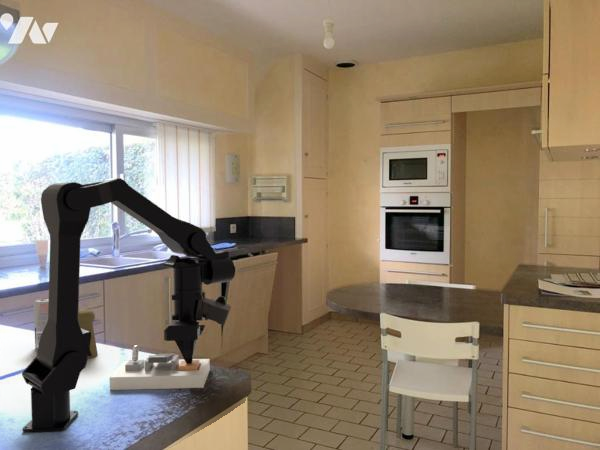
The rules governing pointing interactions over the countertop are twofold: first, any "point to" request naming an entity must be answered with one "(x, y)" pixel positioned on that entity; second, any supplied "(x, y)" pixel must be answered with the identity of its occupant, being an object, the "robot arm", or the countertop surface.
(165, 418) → the countertop surface
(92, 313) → the cork
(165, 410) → the countertop surface
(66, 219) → the robot arm
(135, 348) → the toggle lever
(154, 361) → the rocker switch
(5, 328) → the countertop surface
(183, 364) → the push button
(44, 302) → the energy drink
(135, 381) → the switch panel
